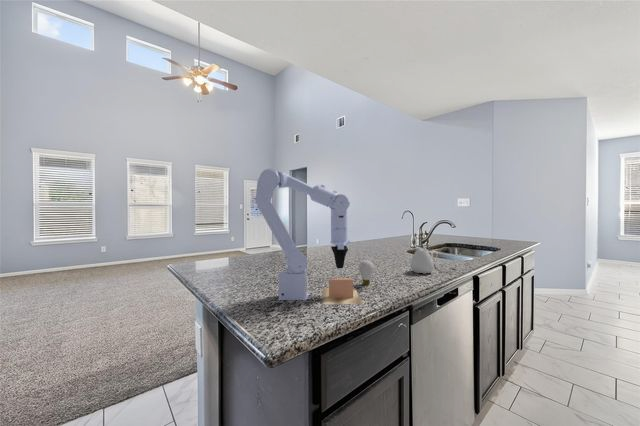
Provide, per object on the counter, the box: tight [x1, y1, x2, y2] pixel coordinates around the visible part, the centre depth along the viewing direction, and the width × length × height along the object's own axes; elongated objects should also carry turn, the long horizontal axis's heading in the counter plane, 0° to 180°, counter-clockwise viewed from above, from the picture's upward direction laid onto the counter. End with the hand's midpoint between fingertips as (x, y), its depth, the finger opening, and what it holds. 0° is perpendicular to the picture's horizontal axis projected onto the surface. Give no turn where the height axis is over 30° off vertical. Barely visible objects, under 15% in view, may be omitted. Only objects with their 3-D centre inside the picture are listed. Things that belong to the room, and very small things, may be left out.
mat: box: [322, 286, 363, 306], centre depth 91 cm, size 12×18×1 cm, turn 0°
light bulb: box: [358, 259, 375, 286], centre depth 104 cm, size 6×6×10 cm
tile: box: [328, 277, 354, 298], centre depth 89 cm, size 8×2×6 cm, turn 90°
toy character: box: [410, 246, 435, 275], centre depth 126 cm, size 10×10×12 cm
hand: (339, 267), depth 95 cm, fingers open, 3 cm apart
